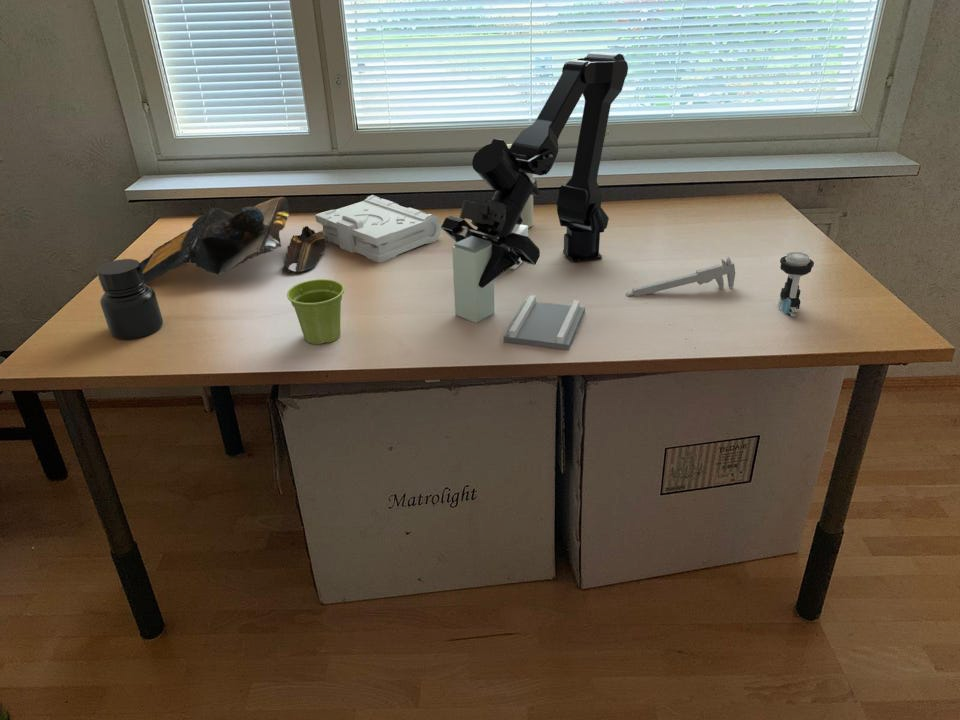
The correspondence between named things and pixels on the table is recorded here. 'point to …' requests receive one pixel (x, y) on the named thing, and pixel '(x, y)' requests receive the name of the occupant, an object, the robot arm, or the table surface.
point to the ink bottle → (128, 300)
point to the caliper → (691, 279)
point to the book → (378, 228)
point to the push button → (793, 280)
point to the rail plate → (545, 324)
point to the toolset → (235, 241)
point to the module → (472, 279)
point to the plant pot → (318, 309)
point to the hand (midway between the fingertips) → (468, 282)
